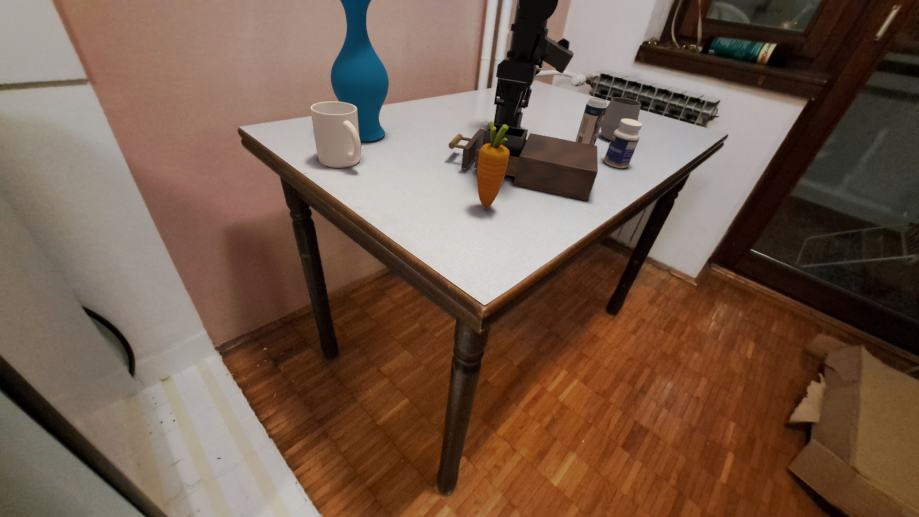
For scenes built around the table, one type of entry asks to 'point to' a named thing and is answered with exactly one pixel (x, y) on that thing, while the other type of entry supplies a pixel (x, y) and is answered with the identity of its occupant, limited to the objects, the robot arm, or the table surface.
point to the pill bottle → (623, 143)
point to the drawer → (473, 150)
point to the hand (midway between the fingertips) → (514, 111)
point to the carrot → (492, 166)
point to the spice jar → (591, 121)
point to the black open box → (509, 138)
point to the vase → (360, 72)
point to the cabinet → (557, 166)
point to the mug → (336, 133)
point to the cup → (618, 114)
